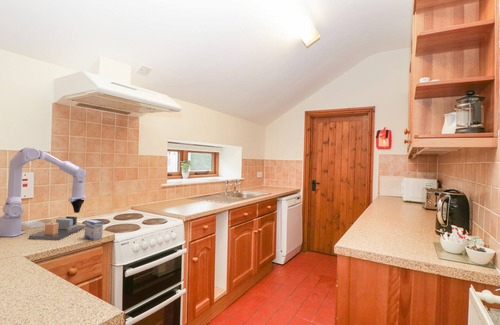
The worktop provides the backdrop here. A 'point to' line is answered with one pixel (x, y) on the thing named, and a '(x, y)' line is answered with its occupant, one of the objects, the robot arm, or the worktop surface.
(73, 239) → the worktop surface
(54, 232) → the housing block
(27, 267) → the worktop surface
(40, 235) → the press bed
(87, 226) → the medicine box
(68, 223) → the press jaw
